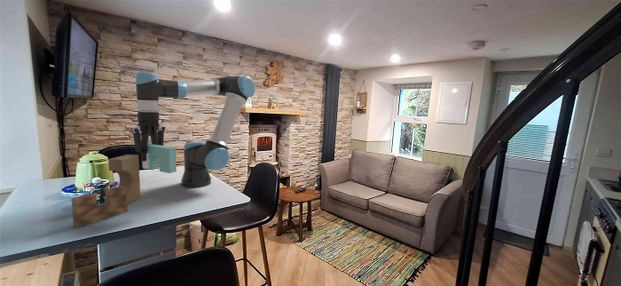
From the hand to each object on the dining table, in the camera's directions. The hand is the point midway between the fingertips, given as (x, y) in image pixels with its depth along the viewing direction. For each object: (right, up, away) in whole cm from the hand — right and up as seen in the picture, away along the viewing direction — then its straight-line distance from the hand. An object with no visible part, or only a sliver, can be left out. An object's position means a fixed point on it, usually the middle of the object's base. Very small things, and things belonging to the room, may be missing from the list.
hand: (150, 167), depth 107 cm
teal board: (+5, -1, -2) cm, 5 cm away
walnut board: (-10, -18, -12) cm, 24 cm away
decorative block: (-13, -16, +4) cm, 21 cm away
